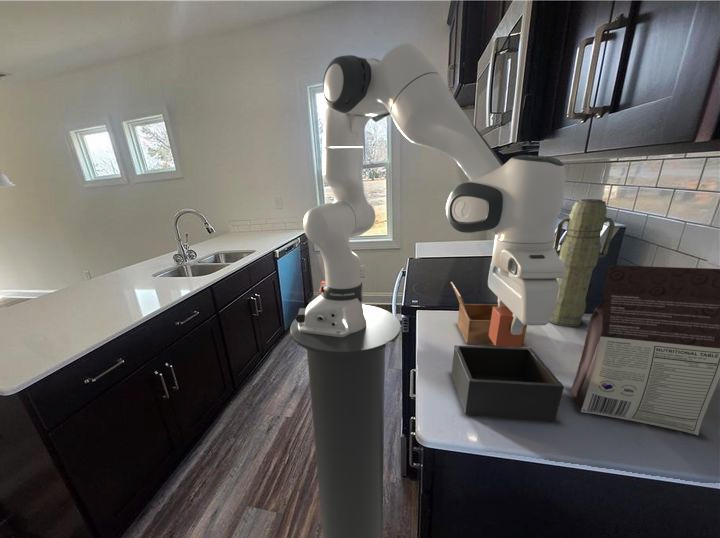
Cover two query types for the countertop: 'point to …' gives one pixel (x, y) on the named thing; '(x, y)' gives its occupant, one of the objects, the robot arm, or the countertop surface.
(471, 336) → the wooden box
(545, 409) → the basket
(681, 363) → the protein powder
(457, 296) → the flap
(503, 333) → the block
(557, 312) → the thermos
